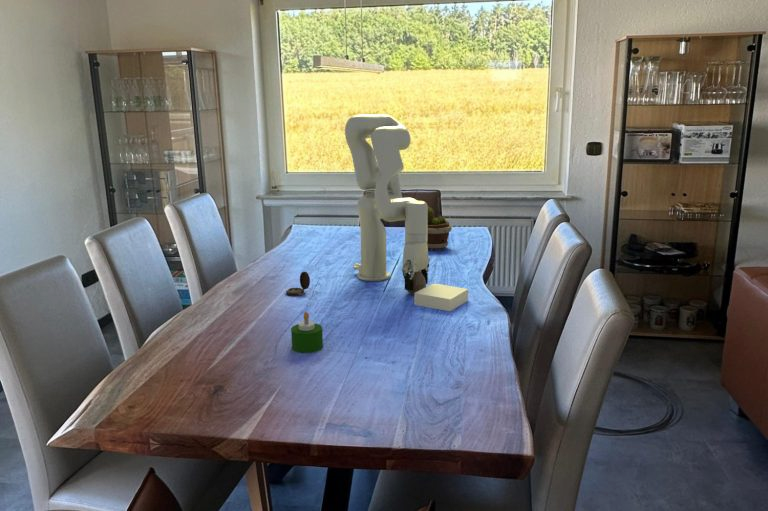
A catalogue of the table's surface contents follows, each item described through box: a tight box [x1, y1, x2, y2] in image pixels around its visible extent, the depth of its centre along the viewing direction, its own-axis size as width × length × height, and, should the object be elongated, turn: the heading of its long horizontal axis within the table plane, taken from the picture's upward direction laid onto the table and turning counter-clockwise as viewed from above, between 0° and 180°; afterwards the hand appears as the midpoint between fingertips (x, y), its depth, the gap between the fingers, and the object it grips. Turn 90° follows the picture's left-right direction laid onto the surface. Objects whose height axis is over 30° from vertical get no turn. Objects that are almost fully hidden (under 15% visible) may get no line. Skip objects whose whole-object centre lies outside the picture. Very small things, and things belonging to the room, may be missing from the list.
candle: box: [290, 311, 324, 354], centre depth 167 cm, size 8×8×10 cm
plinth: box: [413, 282, 469, 312], centre depth 204 cm, size 13×13×4 cm
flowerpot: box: [427, 205, 453, 251], centre depth 278 cm, size 14×15×20 cm
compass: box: [285, 270, 311, 297], centre depth 215 cm, size 8×8×7 cm
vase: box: [406, 271, 427, 296], centre depth 213 cm, size 7×7×9 cm
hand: (416, 286), depth 213 cm, fingers open, 9 cm apart
